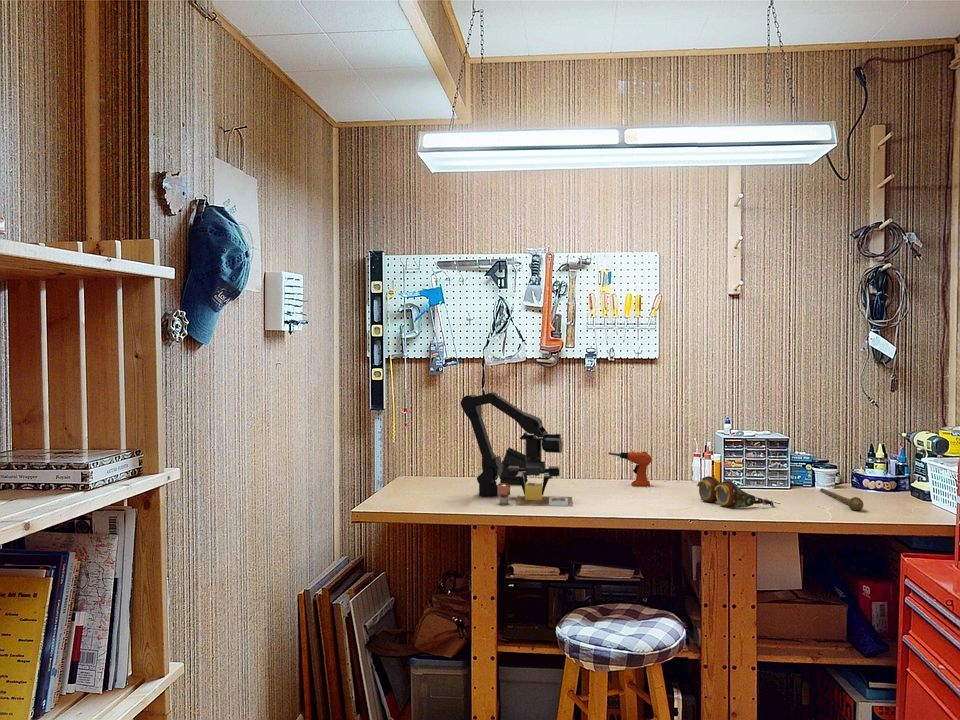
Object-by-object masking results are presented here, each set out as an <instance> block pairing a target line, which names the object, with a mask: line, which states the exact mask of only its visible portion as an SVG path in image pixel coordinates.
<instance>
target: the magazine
mask: <svg viewBox="0 0 960 720" xmlns="http://www.w3.org/2000/svg"><path fill="white" fill-rule="evenodd" d="M501 462H502V464H503V465H504V466H502V467H503V471H502V473H501V475H500V476H499V481H500V483H499V484H502V483H506V484H510V486H521V483H520V481H519V480H518V478H515V476H507V470H508V467H509V466H519V468H525V463H526V454H525V453H522V452H519V451H518V450H516V449H514V448H511V447H510V446H509V447H508V448H507V449H506V450H505V454H504V457H503V460H501ZM523 474H524V473H523ZM524 481H525V484H526V483H529V482H528V475H526V474H524Z"/></svg>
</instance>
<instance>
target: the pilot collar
mask: <svg viewBox="0 0 960 720" xmlns="http://www.w3.org/2000/svg"><path fill="white" fill-rule="evenodd" d="M565 506H568V498H555V497H549V506H548V507H565Z"/></svg>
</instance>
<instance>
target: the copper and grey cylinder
mask: <svg viewBox="0 0 960 720" xmlns="http://www.w3.org/2000/svg"><path fill="white" fill-rule="evenodd" d="M497 485H498V496H499V505H501V506H507V505H509V496H510V495H511V485H510V484H506V483H502V484H500V483H497Z"/></svg>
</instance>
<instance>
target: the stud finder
mask: <svg viewBox="0 0 960 720" xmlns="http://www.w3.org/2000/svg"><path fill="white" fill-rule="evenodd" d="M542 487H543V482H527V483H526V484H525V495H524V496H525V500H542V496H543V495H542Z"/></svg>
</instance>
